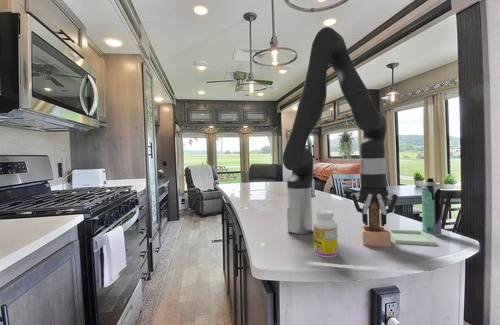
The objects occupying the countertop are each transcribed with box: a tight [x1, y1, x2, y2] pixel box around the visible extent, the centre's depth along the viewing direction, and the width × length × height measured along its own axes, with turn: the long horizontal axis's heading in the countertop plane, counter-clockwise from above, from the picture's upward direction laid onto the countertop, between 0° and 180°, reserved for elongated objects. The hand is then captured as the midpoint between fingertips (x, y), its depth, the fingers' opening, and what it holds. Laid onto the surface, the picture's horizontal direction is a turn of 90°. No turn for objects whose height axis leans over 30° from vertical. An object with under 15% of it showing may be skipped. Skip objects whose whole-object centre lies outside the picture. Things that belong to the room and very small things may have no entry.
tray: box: [387, 228, 437, 247], centre depth 85 cm, size 11×13×2 cm
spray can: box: [421, 177, 442, 237], centre depth 92 cm, size 6×6×20 cm
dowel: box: [368, 202, 381, 232], centre depth 83 cm, size 3×3×13 cm
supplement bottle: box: [312, 209, 339, 258], centre depth 75 cm, size 7×7×13 cm
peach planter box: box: [359, 224, 392, 248], centre depth 83 cm, size 8×8×5 cm
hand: (374, 225), depth 83 cm, fingers open, 4 cm apart
